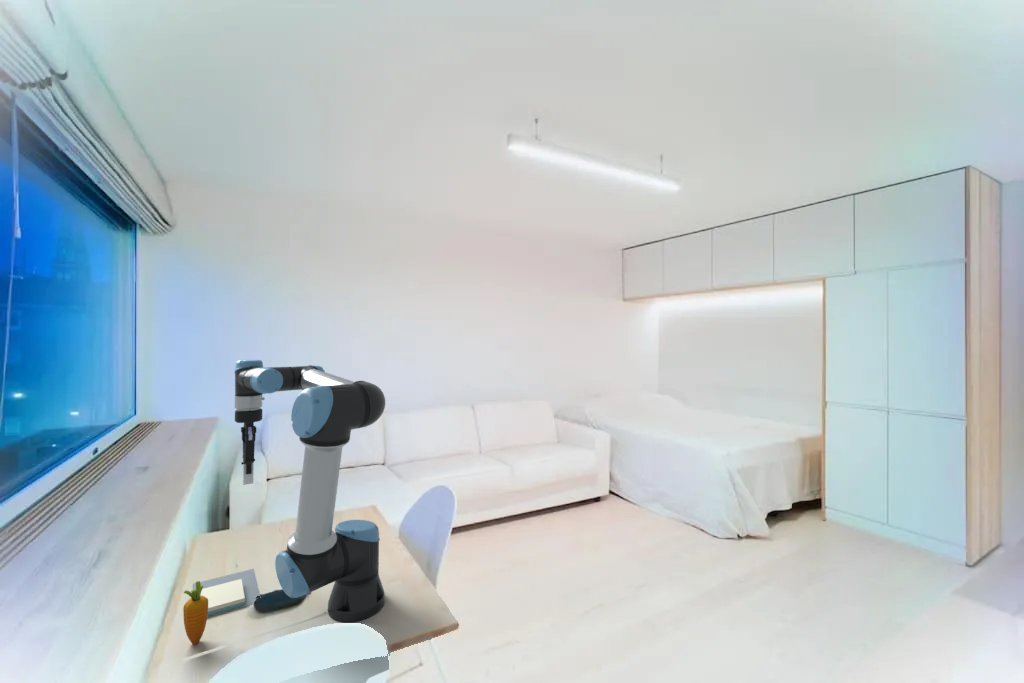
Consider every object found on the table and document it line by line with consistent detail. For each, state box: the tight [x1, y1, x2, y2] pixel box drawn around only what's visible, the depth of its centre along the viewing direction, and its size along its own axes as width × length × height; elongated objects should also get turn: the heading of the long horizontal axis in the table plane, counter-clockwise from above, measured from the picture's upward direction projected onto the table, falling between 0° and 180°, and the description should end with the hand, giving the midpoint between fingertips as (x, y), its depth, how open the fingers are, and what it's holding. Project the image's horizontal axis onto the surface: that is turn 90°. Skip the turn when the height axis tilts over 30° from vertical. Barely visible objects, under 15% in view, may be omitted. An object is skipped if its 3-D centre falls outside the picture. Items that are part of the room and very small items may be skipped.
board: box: [201, 579, 245, 616], centre depth 126 cm, size 2×10×12 cm
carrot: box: [182, 580, 208, 646], centre depth 109 cm, size 5×5×15 cm
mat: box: [192, 568, 261, 618], centre depth 130 cm, size 22×16×1 cm
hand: (248, 483), depth 140 cm, fingers closed
